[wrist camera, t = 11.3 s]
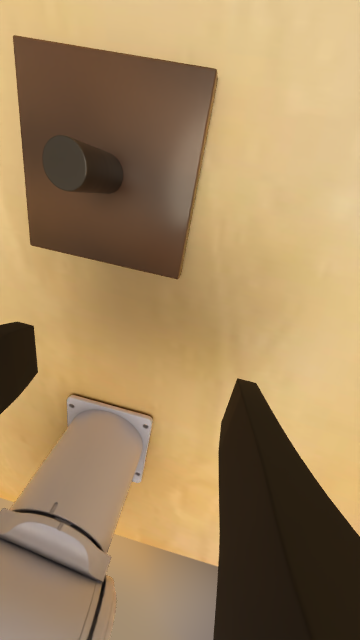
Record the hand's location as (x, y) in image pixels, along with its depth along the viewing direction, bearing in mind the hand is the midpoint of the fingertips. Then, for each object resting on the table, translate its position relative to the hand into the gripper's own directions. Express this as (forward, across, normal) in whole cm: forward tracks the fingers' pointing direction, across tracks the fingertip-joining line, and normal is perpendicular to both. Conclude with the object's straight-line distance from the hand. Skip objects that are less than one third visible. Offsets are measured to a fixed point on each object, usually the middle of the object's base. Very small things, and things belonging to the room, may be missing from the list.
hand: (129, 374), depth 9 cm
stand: (+9, +5, -6) cm, 12 cm away
